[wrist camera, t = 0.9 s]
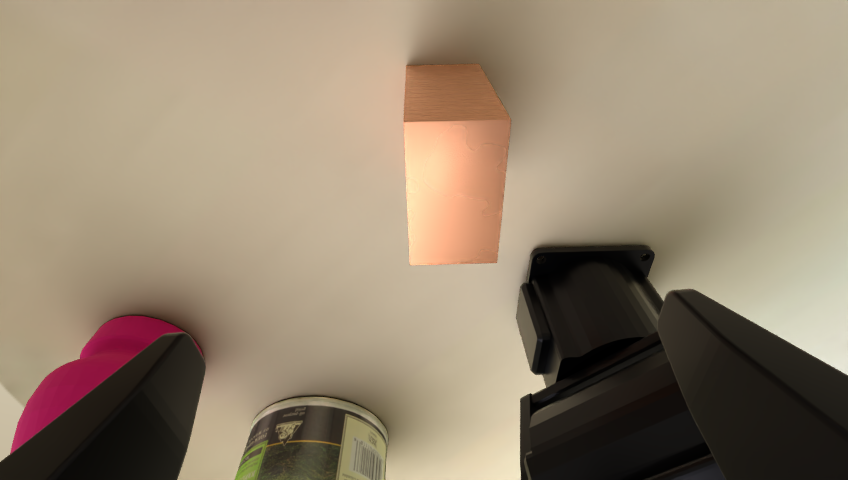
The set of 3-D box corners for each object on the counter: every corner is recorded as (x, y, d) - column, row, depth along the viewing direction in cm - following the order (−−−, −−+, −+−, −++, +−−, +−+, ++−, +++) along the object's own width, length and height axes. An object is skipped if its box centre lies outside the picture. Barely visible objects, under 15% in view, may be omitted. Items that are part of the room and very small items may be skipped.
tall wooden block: (478, 64, 18) (511, 119, 12) (473, 174, 21) (497, 262, 15) (406, 65, 18) (403, 122, 12) (410, 175, 21) (409, 265, 15)
